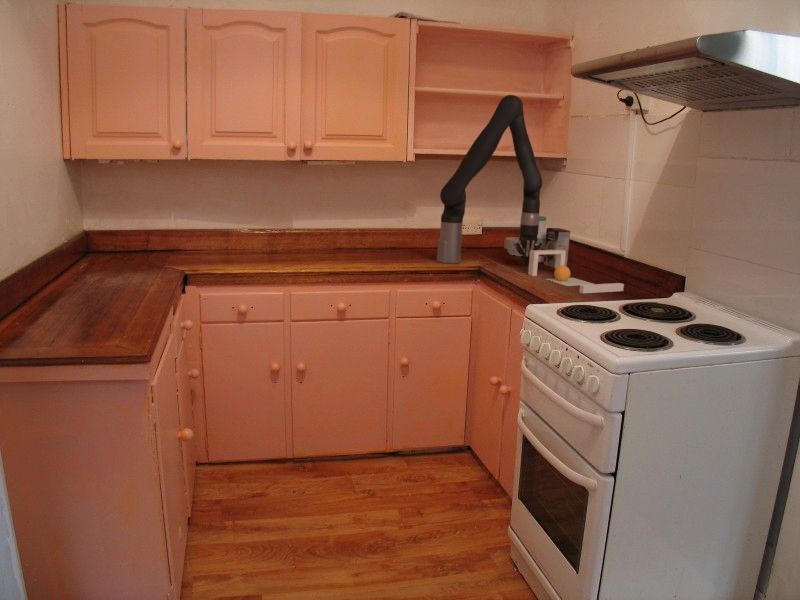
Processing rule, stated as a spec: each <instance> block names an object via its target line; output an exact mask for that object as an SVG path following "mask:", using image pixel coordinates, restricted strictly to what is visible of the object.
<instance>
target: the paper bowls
mask: <svg viewBox="0 0 800 600" xmlns="http://www.w3.org/2000/svg"><path fill="white" fill-rule="evenodd" d="M519 238H520V236H518V237H514V236H513V237H511V236H510V237H505V238H504V243H503V245H504V247H503V248H504V249H506V250H507V253H508V254H509V255H510V256H513V255H515V256H514V257H521V256H523V255H521V254H519V253H518V251H517V249H516V247H515V246H514V243H517V242H518V241H519ZM521 248H522V245H521Z"/></svg>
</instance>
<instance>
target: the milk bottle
mask: <svg viewBox="0 0 800 600" xmlns="http://www.w3.org/2000/svg"><path fill="white" fill-rule="evenodd" d="M546 222H547V217H546V216H543V215H539V229H538V235H537V238H538V241H539V242H540V243H542V245H541V247H540V248H539V250H545V242H546V231H547V225H546ZM538 263H544V254H540V255H539V256H538Z"/></svg>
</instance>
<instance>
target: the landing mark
mask: <svg viewBox="0 0 800 600" xmlns="http://www.w3.org/2000/svg"><path fill="white" fill-rule="evenodd" d="M545 280H546V281H549V280H550V282H552V281H553V282H552V283H556V284H559V285H563V286H565V287H571V286H572V287H573V286H580V285H594V284H595V283H593V282H589V281H586V280H582V279H579V278H575V277H569V278H568V279H567V280H566V281H559V280H557V279H556V278H555V277H553V278H545Z"/></svg>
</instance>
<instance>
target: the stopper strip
mask: <svg viewBox="0 0 800 600" xmlns="http://www.w3.org/2000/svg"><path fill="white" fill-rule="evenodd" d="M593 284H594V285H579V290H578V292H579V293H580V294H593V293H594V294H595V293H596V294H597V293H609V292H610V293H613V292H624V287H625V284H624V283H621V282H615V283H598V284H596V283H593Z"/></svg>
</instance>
